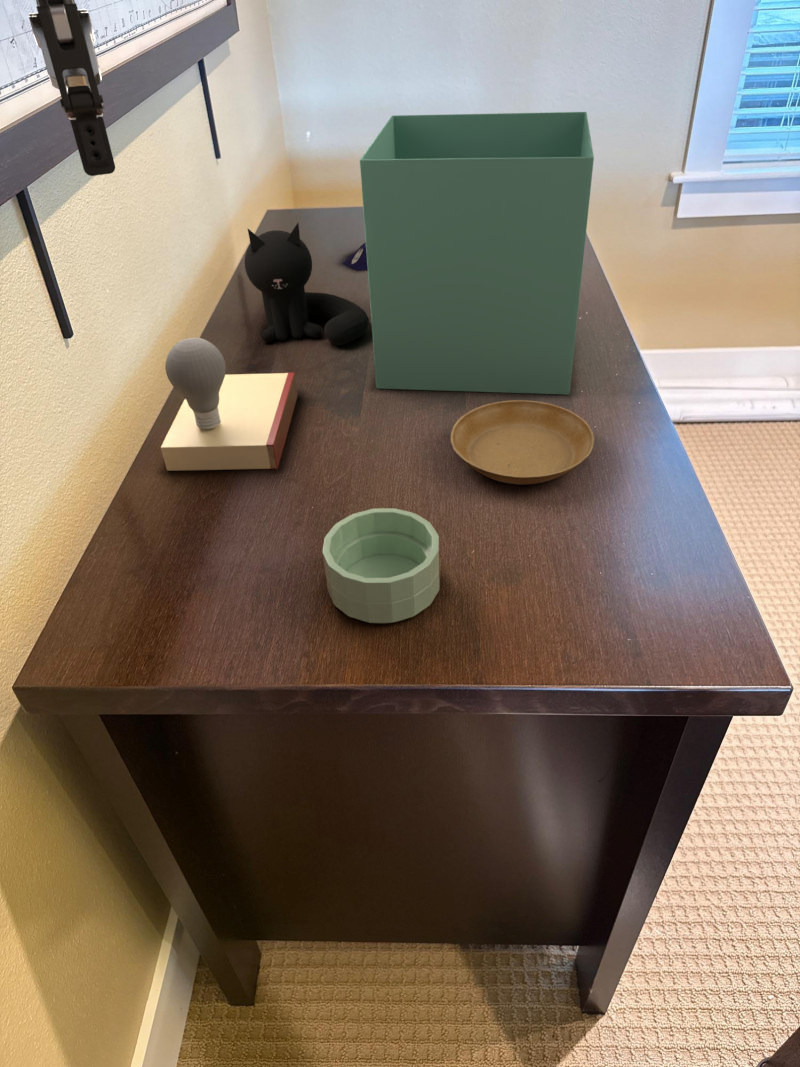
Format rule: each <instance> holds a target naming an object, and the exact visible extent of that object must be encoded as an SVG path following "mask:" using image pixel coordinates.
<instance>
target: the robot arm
mask: <svg viewBox="0 0 800 1067" xmlns="http://www.w3.org/2000/svg"><path fill="white" fill-rule="evenodd" d="M35 3H36V12H31V13H28V15H29V16H28V20H29V23H30V27H31V30H32V34H33V37H34V40H35V42H36V45H37V47H38V48H39V49H40V50H41V54H42V57H43V61H44V64H45V68H46V73H47V75H48V78H49V80H50V84H51V86H52V87H53V88H55V89H57V90H59V93H60V97H61V98H59V102H60V105H61V108H62V111H63V113H64V114H66V117H67V119H68V120H69V122H70V125H71V129H72V132H73V135H74V136H73V137H74V139H75V143H76V147H77V150H78V154H79V157H80V162H81V164H82V168H83V171H84V173H85V174H86V175H87V176H89V177H95V176H102V175H110V174H113V173H114V172H115V170H116V164H115V161H114V160H115V159H114V156H113V153H112V148H111V144H110V140H109V137H108V133H107V128H106V125H105V120H104V110H105V104H104V98H103V95H102V94H100V92H99V88H98V85H100V84H101V83H102V73H101V70H100V69H101V68H100V65H99V61H98V58H97V54H96V49H95V46H94V45H95V42H96V37H95V33H94V28H93V27H94V26H93V24H92V20H91V16H90V13H89V11H88V9H87V8H83V9H79V8H78V5H77V3H76V1H75V0H35Z"/></svg>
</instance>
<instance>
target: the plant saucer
mask: <svg viewBox="0 0 800 1067" xmlns="http://www.w3.org/2000/svg"><path fill="white" fill-rule="evenodd" d="M452 426H453V427H452V428H451V430H450V443H451V447H452V448H453V450H454V451H455V453H456V454H457V455H458V457H459V458H460V459H461V460H462V461H463V462H464V463H465V464H466V465H468V467H470V468H471V469H473V470H474V471H476V472H478V473H479V474H480V475H483V476H484V477H486V478H489V479H492V480H494V481H497V482H500V483H503V484H504V483H505V484H510V485H520V486H521V485H523V486H525V485H536V484H541V483H545V482H549V481H552V480H555V479H557V478H559V477H562V476H563V475H565V474H566V473H569V472H570V471H572V470H573V469H575V468H576V467H578V466H580V464H581V463H583V462H584V461H585V460H586V459H587V458H588V457H589V455H590V454H591V453H592V451H593V448H594V445H595V435H594V433H593V430H592V428H591V427H590V425H589V424H588V423H587V421H585V420H584V418H582V417H581V416H579V415H578V414H576V413H575V412H573V411H571V410H569V409H567V408H564V407H562V406H559V405H556V404H552V403H549V402H544V401H538V400H526V399H521V400H520V399H515V400H513V399H512V400H511V399H510V400H503V401H496V402H491V403H487V404H484V405H480V406H478V407H475V408H473V409H471V410H469V411H468V412H466V413H465V414H463V415H462V416H461V417H459V418H458V419H457V421H456V422H455V423H454V425H452Z"/></svg>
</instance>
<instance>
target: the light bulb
mask: <svg viewBox="0 0 800 1067" xmlns="http://www.w3.org/2000/svg"><path fill="white" fill-rule="evenodd" d="M164 365H165V367H164V369H165V375H166V376H167V379H168V381H169V382H170V384H171V385H172V387H173V388H174V389H175V390H176V391H177V392H178V393H179V394H180V395H181V396H182V397H183V398H184V400H185V399H186V400H187V403H188V405H189V407H190V408H191V409H192V410H193V413H194V417H195V421H196V425H197V427H199V428H202V429H212V428H214V427H216V426H218V425H219V424H220V423H221V419H220V416H219V411H218V404H219V391H220V388H221V385H222V383H223V380H224V377H225V375H226V370H227V368H226V362H225V357H224V356H223V354H222V352H221V351H220V350H219V348H218V347H217V346H215V345H214V343H212V342H210V341H209V340H206V339H204V338H200V337H188V338H184V339H181V340H179V341H178V342H176V343H175V344H174V345H173V346H172V348H171V349H170V350H169V351H168V354H167V356H166V360H165V364H164Z"/></svg>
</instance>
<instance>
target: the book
mask: <svg viewBox="0 0 800 1067" xmlns="http://www.w3.org/2000/svg"><path fill="white" fill-rule="evenodd" d="M298 396H299V394H298V386H297V380H296V373H295V372H294V371H293V372H278V373H277V372H276V373H275V372H274V373H273V372H272V373H241V374H239V373H238V374H237V373H236V374H225V377H224V380H223V383H222V385H221V388H220V391H219V404H218V411H219V416H220V419H221V423H220V424H219V425H218V426H216V427H214V428H212V429H202V428H199V427H197V425H196V421H195V417H194V413H193V410H192V409H191V408H190V407H189V405H188V403H187V400H186V399H185V398H184V399H183V402H182V404H181V406H180V407H179V410H178V411H177V414H176V416H175V418H174V419H173V421H172V423H171V425H170V428H169V430H168V432H167V434H166V436H165V438H164V440H163V442H162V443H161V446H160V450H161V454H162V458H163V461H164V465H165V468H166V471H167V472H170V471H171V472H173V471H176V472H178V471H179V472H180V471H223V470H225V471H226V470H227V471H228V470H269V469H270V470H278V469H279V465H280V462H281V458H282V454H283V451H284V447H285V443H286V440H287V437H288V432H289V429H290V425H291V422H292V418H293V414H294V410H295V407H296V404H297V399H298Z"/></svg>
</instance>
